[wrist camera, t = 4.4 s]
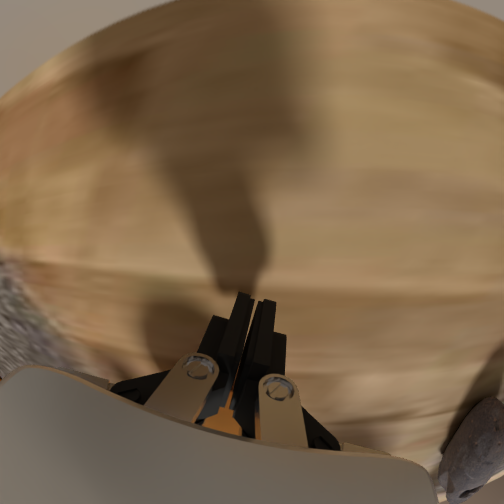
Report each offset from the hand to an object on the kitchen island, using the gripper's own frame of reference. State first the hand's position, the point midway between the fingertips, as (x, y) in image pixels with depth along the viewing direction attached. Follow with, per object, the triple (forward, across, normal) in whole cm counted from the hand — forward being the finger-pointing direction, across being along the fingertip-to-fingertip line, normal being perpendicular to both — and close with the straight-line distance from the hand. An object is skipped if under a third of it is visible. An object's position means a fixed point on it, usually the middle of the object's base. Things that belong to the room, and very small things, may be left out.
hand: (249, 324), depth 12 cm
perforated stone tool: (+2, -23, +9) cm, 25 cm away
